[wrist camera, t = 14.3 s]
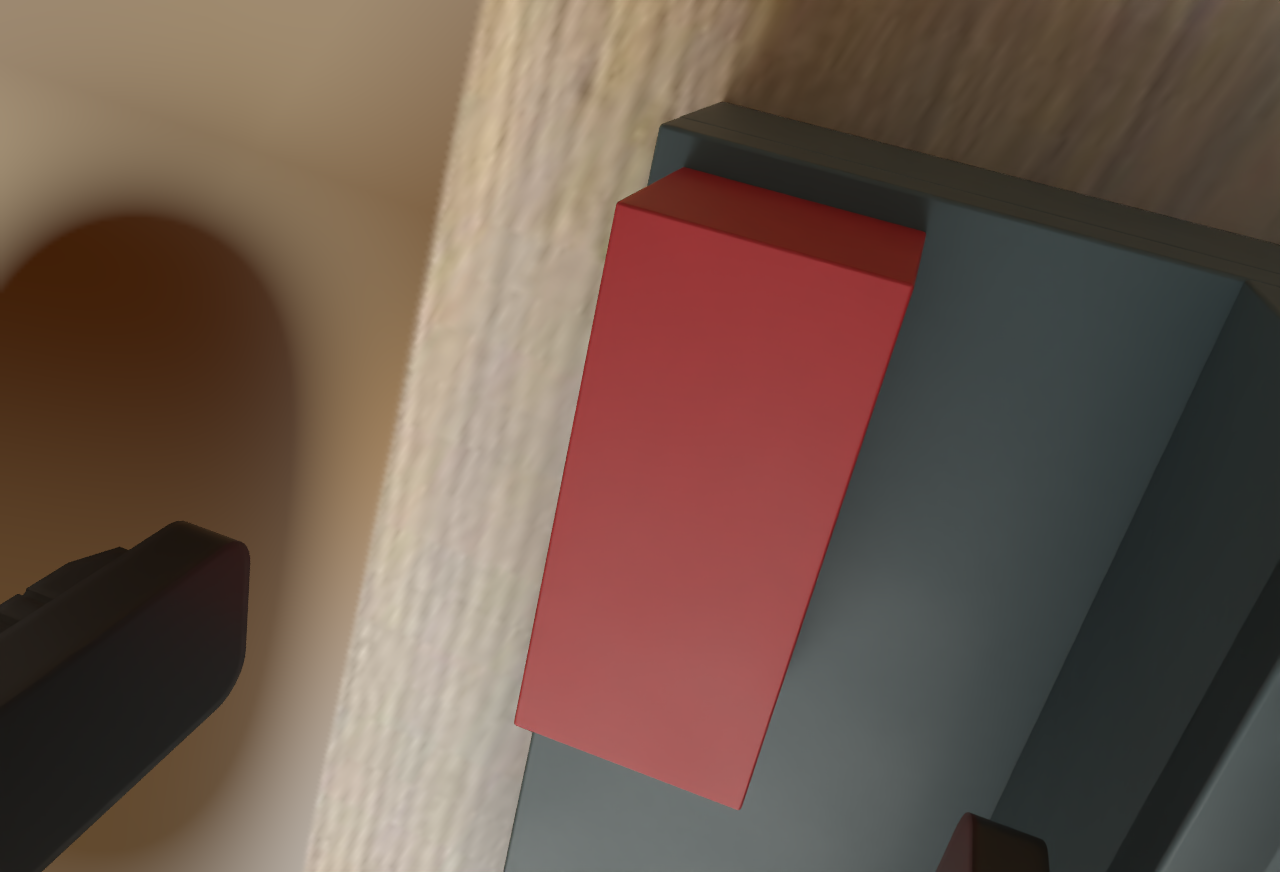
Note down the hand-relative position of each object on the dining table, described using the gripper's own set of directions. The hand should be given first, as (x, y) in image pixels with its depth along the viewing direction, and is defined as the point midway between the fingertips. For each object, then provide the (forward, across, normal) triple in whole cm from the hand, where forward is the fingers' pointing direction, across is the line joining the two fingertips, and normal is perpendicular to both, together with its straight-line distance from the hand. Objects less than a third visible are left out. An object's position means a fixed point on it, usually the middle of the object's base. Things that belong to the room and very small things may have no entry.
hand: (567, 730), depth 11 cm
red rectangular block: (+8, 0, 0) cm, 8 cm away
